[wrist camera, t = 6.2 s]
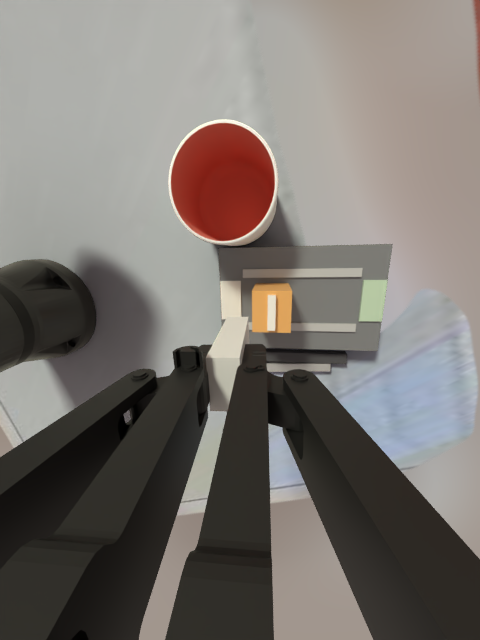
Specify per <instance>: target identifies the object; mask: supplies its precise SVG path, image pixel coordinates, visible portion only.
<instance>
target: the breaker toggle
mask: <svg viewBox="0 0 480 640" xmlns="http://www.w3.org/2000/svg"><path fill="white" fill-rule="evenodd" d="M291 311H292V289H291V287H290V285H289V283H256V284H255V286H254V288H253V290H252V332H270V333H291Z"/></svg>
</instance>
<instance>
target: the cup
mask: <svg viewBox="0 0 480 640" xmlns="http://www.w3.org/2000/svg"><path fill="white" fill-rule="evenodd" d="M168 187H169V195H170V200H171V203H172V206H173V209H174V211H175V213H176V215H177V217H178V219H179V220H180V222H181V223H182V224H183V225H184V227H185V228H186V229H187V230H188V231H189V232H191V233H192V234H193V235H194V236H196V237H198V238H199V239H201V240H203V241H206V242H209V243H213V244H219V245H228V246H242V245H246V244H249V243H252V242H254V241H255V240H257V239H258V238H260V237H261V236H262V235H263V234H264V233H265V232H266V231H267V229H268V228H269V226H270V225H271V223H272V221H273V218H274V215H275V212H276V205H277V195H278V170H277V165H276V161H275V158H274V156H273V153H272V151H271V149H270V147H269V146H268V144H267V143H266V141H265V140H264V139H263V138H262V137H261V136H260V135H259V134H258V133H257V132H256V131H255V130H254V129H252V128H251V127H249V126H247V125H245V124H243V123H241V122H238V121H234V120H214V121H210V122H207V123H205V124H202V125H200V126H199V127H197V128H195V129H194V130H193V131H191V132H190V133H189V134H188V135H187V136H186V137H185V138H184V139H183V141H182V142H181V143H180V145H179V147H178V148H177V150H176V152H175V154H174V156H173V159H172V162H171V165H170V170H169V178H168Z"/></svg>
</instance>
